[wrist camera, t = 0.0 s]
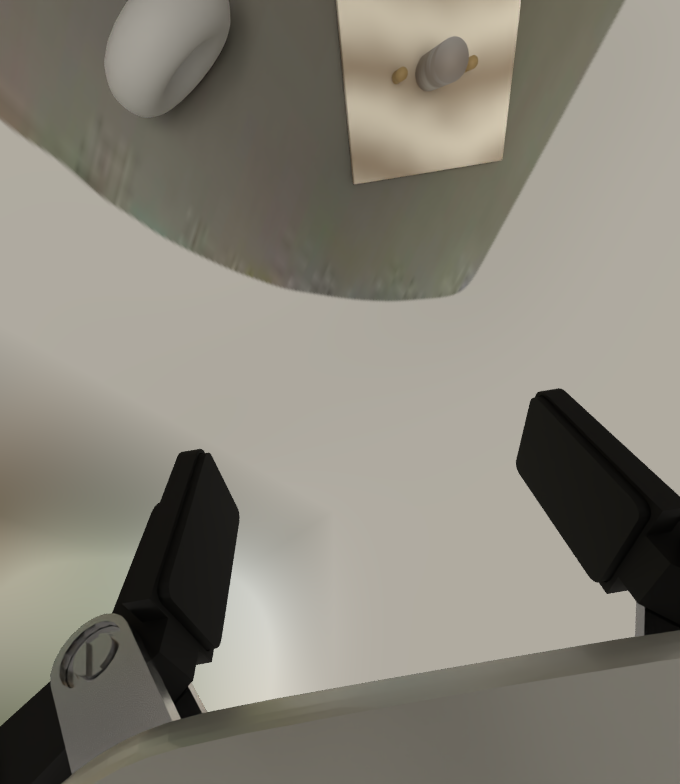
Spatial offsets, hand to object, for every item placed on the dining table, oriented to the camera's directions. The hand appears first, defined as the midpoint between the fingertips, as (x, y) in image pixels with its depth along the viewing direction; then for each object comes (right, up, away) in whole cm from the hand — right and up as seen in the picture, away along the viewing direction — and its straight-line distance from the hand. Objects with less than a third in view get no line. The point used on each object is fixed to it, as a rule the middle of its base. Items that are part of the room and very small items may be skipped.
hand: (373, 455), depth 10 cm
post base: (+6, +29, +19) cm, 35 cm away
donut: (-13, +28, +17) cm, 35 cm away
